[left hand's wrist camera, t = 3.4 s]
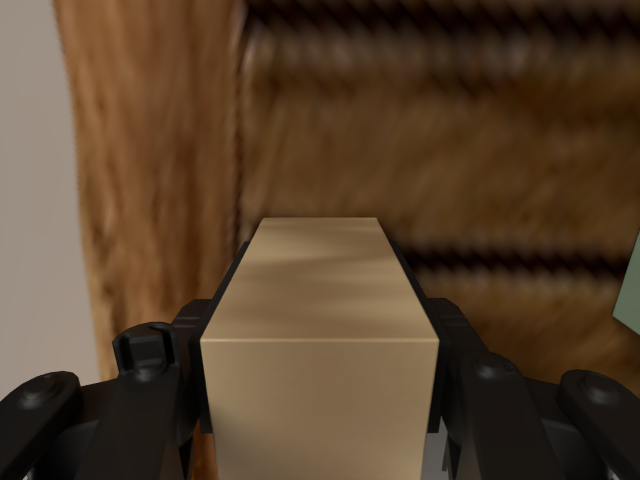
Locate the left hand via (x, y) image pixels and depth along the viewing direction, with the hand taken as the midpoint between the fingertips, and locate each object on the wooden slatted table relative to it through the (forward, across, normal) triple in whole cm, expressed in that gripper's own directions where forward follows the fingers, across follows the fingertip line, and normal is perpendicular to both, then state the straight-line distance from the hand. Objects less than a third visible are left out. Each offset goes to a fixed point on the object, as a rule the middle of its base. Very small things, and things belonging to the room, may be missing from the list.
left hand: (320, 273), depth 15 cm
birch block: (0, 0, 0) cm, 0 cm away
